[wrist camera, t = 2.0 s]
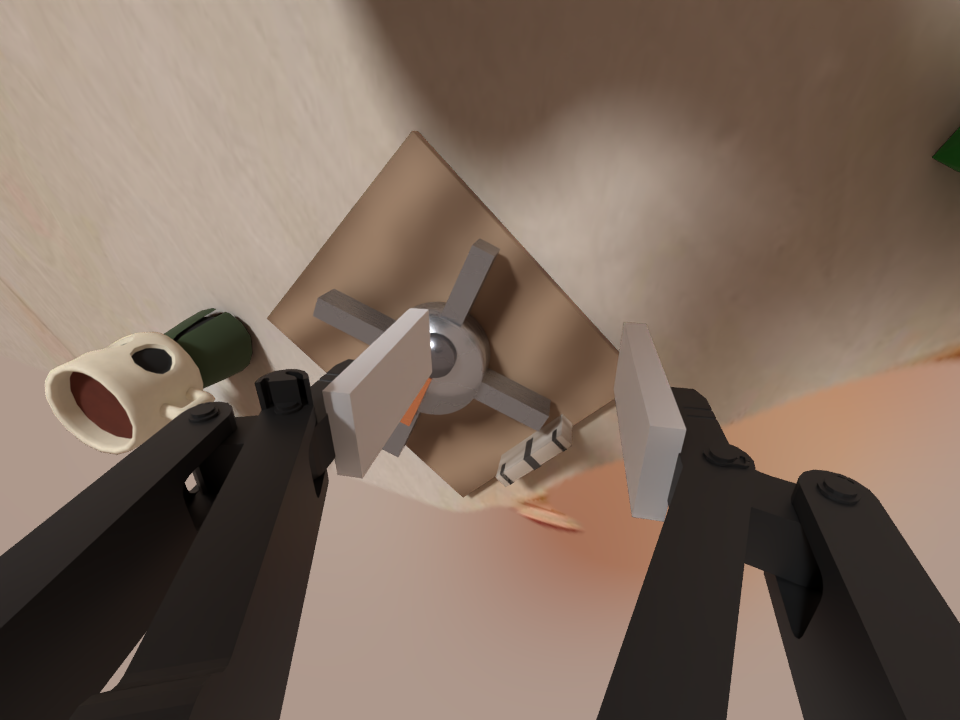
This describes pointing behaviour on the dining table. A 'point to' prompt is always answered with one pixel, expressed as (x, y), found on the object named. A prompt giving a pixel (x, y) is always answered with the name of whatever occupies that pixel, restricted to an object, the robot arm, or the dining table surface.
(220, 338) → the character mug
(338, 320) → the four-spoke handwheel
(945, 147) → the milk carton
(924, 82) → the dining table surface
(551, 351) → the wooden mounting board
